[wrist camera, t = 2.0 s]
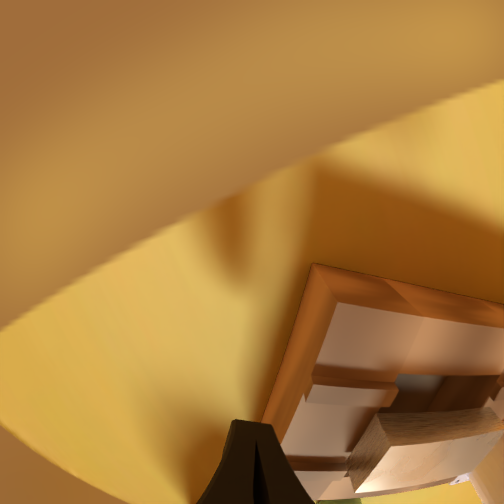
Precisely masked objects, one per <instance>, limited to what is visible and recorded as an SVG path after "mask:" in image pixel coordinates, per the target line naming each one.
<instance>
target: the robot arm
mask: <svg viewBox="0 0 504 504" xmlns="http://www.w3.org/2000/svg"><path fill="white" fill-rule="evenodd" d="M502 422H503V423H504V421H502ZM467 480H470V482H471V484H472V485H473V487H474V489H475V491H476V492H477V494H478V496H479V498H480V499H481V501H482V503H483V504H504V434H503V435H502V436H501V438H500V439H499V440H498V442H497V443H496V444H495V446H494V447H493V448H492V449H491V451H490V452H489V453H488V454H487V456H486V457H485V458H484V459H483V460H482V462H481V463H480V464H479V465H478V466H477V467H476V469H475V470H474V471H473V472H470V473H466V474H463V475H459V476H458V477H457V478H456V479H455V480H454V481H452V482H449V483H448V484H449V485H454V484H457V483H461V482H464V481H467ZM197 504H315V503H314V501H313V500H312V499H311V497H310V496H309V494H308V493H307V492H306V490H305V489H304V487H303V486H302V484H301V482H300V481H299V479H298V477H297V476H296V474H295V472H294V470H293V469H292V467H291V465H290V463H289V461H288V459H287V457H286V456H285V453H284V451H283V449H282V447H281V445H280V443H279V440H278V438H277V436H276V433H275V431H274V428H273V426H272V425H271V424H266V423H258V422H251V421H244V420H237V419H235V420H233V421H232V422H231V426H230V429H229V433H228V436H227V439H226V443H225V446H224V450H223V455H222V460H221V462H220V464H219V466H218V468H217V470H216V472H215V474H214V476H213V478H212V480H211V481H210V483H209V485H208V487H207V488H206V490H205V492H204V493H203V495H202V496H201V498H200V499H199V501H198V502H197Z"/></svg>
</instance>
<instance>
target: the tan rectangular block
mask: <svg viewBox="0 0 504 504" xmlns="http://www.w3.org/2000/svg"><path fill="white" fill-rule="evenodd" d="M503 434H504V423H503V422H502V421H501V420H500V418H499V417H498V416H497V415H496V414H495V412H494V411H493V410H492V409H491V408H490V407H483V408H475V409H465V410H455V411H442V412H424V413H376V414H375V415H374V417H373V419H372V420H371V422H370V424H369V425H368V427H367V429H366V430H365V432H364V434H363V435H362V437H361V438H360V440H359V441H358V443H357V445H356V446H355V448H354V449H353V451H352V452H351V454H350V455H349V457H348V458H347V460H346V461H345V463H346V466H347V469H348V473H349V476H350V480H351V483H352V487H353V490H354V493H362V492H372V491H381V490H389V489H396V488H403V487H409V486H414V485H420V484H425V483H430V482H434V481H439V480H443V479H447V478H451V477H455V476H459V475H463V474H466V473H470V472H473V471H474V470H475V469H476V467H477V466H478V465H479V464H480V463H481V462H482V460H483V459H484V458H485V457H486V456H487V454H488V453H489V452H490V451H491V449H492V448H493V447H494V446H495V444H496V443H497V442H498V440H499V439H500V438H501V436H502V435H503Z"/></svg>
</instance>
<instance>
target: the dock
mask: <svg viewBox="0 0 504 504" xmlns="http://www.w3.org/2000/svg"><path fill="white" fill-rule="evenodd" d="M483 407H490V408H491V409H492V410H493V411H494V412H495V414H496V415H497V416H498V417H499V418H500V420H501V421H502V420H503V419H504V304H499V303H495V302H490V301H486V300H481V299H476V298H472V297H467V296H463V295H458V294H454V293H449V292H444V291H440V290H435V289H431V288H426V287H422V286H417V285H412V284H408V283H403V282H399V281H394V280H389V279H385V278H380V277H376V276H371V275H366V274H362V273H357V272H352V271H348V270H343V269H339V268H334V267H329V266H325V265H320V264H315V263H312V266H311V269H310V273H309V276H308V280H307V283H306V287H305V290H304V293H303V297H302V300H301V303H300V307H299V310H298V313H297V316H296V320H295V323H294V326H293V329H292V332H291V336H290V339H289V342H288V345H287V348H286V351H285V354H284V357H283V360H282V363H281V366H280V369H279V372H278V375H277V378H276V381H275V384H274V387H273V390H272V392H271V395H270V398H269V401H268V404H267V406H266V409H265V412H264V415H263V418H262V420H261V423H266V424H271V425H272V426H273V428H274V431H275V433H276V436H277V438H278V440H279V443H280V445H281V447H282V449H283V451H284V453H285V456H286V457H287V459H288V461H289V463H290V465H291V467H292V469H293V470H294V472H295V474H296V476H297V477H298V479H299V481H300V482H301V484H302V486H303V487H304V489H305V490H306V492H307V493H308V494H309V496H310V497H311V499H312V500H335V499H351V498H363V497H372V496H380V495H388V494H395V493H401V492H407V491H412V490H418V489H423V488H427V487H432V486H436V485H441V484H445V483H449V482H452V481H454V480H455V479H456V478H457V477H458V476H455V477H451V478H447V479H443V480H439V481H434V482H430V483H425V484H420V485H414V486H409V487H403V488H396V489H389V490H381V491H372V492H362V493H354V490H353V487H352V483H351V480H350V476H349V473H348V469H347V466H346V463H345V461H346V460H347V458H348V457H349V455H350V454H351V452H352V451H353V449H354V448H355V446H356V445H357V443H358V441H359V440H360V438H361V437H362V435H363V434H364V432H365V430H366V429H367V427H368V425H369V424H370V422H371V420H372V419H373V417H374V415H375V414H376V413H424V412H442V411H455V410H465V409H475V408H483Z"/></svg>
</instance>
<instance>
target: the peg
mask: <svg viewBox="0 0 504 504" xmlns="http://www.w3.org/2000/svg"><path fill="white" fill-rule="evenodd" d="M317 504H362V503H361V499H360V498H351V499H335V500H321V501H319V502H318V503H317Z"/></svg>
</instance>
